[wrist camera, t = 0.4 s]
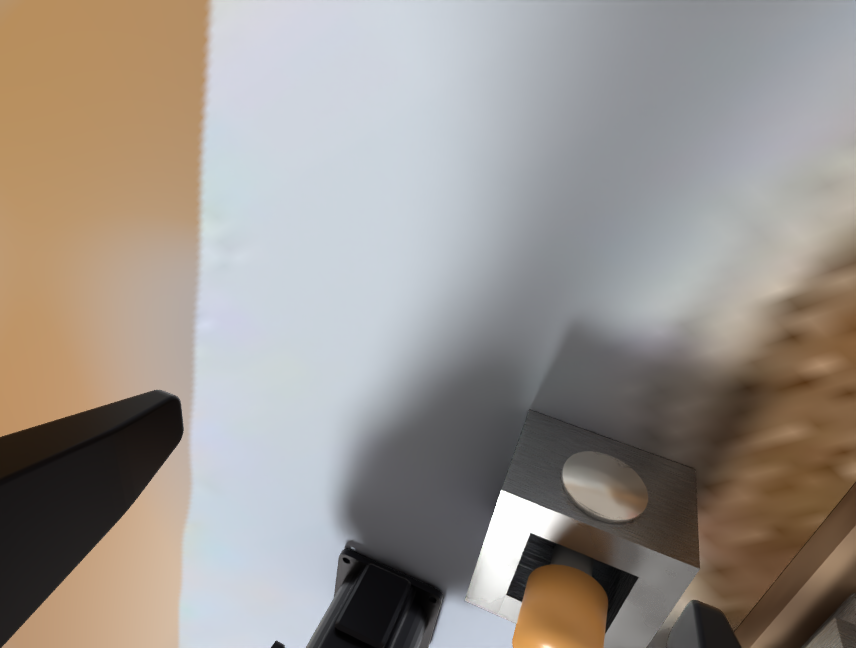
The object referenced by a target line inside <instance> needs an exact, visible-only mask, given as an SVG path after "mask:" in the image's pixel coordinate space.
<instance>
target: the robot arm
mask: <svg viewBox="0 0 856 648" xmlns="http://www.w3.org/2000/svg"><path fill="white" fill-rule="evenodd" d="M183 431H184V428H183V418H182V409H181V402H180V399H179V398H178V397H177V396H175V395H173V394H170V393H168V392H165V391H162V390H154V391H150V392H147V393H144V394H140V395H137V396H134V397H130V398H127V399H124V400H121V401H117V402H114V403H111V404H108V405H104V406H101V407H98V408H94V409H91V410H88V411H84V412H81V413H78V414H75V415H71V416H68V417H65V418H61V419H58V420H55V421H52V422H48V423H45V424H42V425H38V426H35V427H32V428H29V429H26V430H22V431H19V432H16V433H12V434H9V435H5V436H2V437H0V648H2V646H3V645H4V644H5V643H6V642H7V641H8V640H9V639H10V638H11V637H12V635H13V634H14V633H15V632H16V631H17V630H18V629H19V628H20V627H21V626H22V625H23V624H24V623H25V621H26V620H27V619H28V618H29V617H30V616H31V615H32V614H33V613H34V612H35V611H36V610H37V608H38V607H39V606H40V605H41V604H42V603H43V602H44V601H45V600H46V599H47V598H48V596H49V595H50V594H51V593H52V592H53V591H54V590H55V589H56V588H57V587H58V586H59V585H60V584H61V582H62V581H63V580H64V579H65V578H66V577H67V576H68V575H69V574H70V573H71V572H72V570H73V569H74V568H75V567H76V566H77V565H78V564H79V563H80V562H81V561H82V560H83V558H84V557H85V556H86V555H87V554H88V553H89V552H90V551H91V550H92V549H93V548H94V547H95V545H96V544H97V543H98V542H99V541H100V540H101V539H102V538H103V537H104V536H105V535H106V533H107V532H108V531H109V530H110V529H111V528H112V527H113V526H114V525H115V523H117V521H119V519H120V518H121V517H122V516H123V515H124V514H125V512H126V511H127V510H128V509H129V508H130V506H131V505H132V504H133V503H134V502H135V500H136V499H137V498H138V496H139V495H140V494H141V492H142V491H143V490H144V489H145V487H146V486H147V485H148V483H149V482H150V481H151V479H152V478H153V477H154V475H155V474H156V473H157V471H158V470H159V469H160V467H161V466H162V465H163V463H164V462H165V461H166V459H167V458H168V457H169V455H170V454H171V453H172V452H173V450H174V449H175V448H176V446H177V445H178V444H179V442H180V440H181V438H182V435H183ZM442 600H443V594H442V592H441V591H440V590H438V589H436V588H434V587H432V586H429V585H427V584H425V583H423V582H420V581H418V580H416V579H414V578H412V577H409V576H407V575H405V574H403V573H400V572H398V571H396V570H394V569H391V568H389V567H387V566H385V565H382V564H380V563H378V562H376V561H374V560H371V559H369V558H367V557H365V556H362V555H360V554H358V553H356V552H353V551H351V550H348V549H344V550H343V551H342V552H341V554H340V556H339V560H338V568H337V577H336V585H335V594H334V599H333V600H332V602H331V604H330V606H329V608H328V609H327V611H326V613H325V615H324V616H323V618H322V620H321V622H320V623H319V625H318V627H317V629H316V630H315V632H314V634H313V636H312V637H311V639H310V641H309V643H308V644H307V646H306V648H428V647H429V644H430V640H431V637H432V634H433V630H434V627H435V623H436V620H437V617H438V613H439V610H440V607H441V603H442ZM271 648H285V645H283V644H282V643H280V642H278V641H275V643H274V644H273V645H272V647H271ZM666 648H742V647H741V645H740V643H739V641H738V639H737V637H736V635H735V633H734V632H733V630H732V628H731V626H730V624H729V622H728V620H727V618H726V617H725V615H724V614H723V612H722V611H721V610H719V609H717V608H715V607H713V606H710V605H708V604H705V603H703V602H700V601H697V600H692V601H690V602H689V603H688V604H687V606H686V607H685V609H684V610H683V612H682V613H681V615H680V617H679V618H678V620H677V621H676V623H675V624H674V626H673V627H672V629H671V631H670V634H669V637H668V641H667V646H666Z"/></svg>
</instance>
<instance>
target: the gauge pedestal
mask: <svg viewBox="0 0 856 648" xmlns="http://www.w3.org/2000/svg"><path fill="white" fill-rule="evenodd" d="M557 544H559V545H562V546H564V547H567V548H569V549H571V550H574V551H576V552H579V553H581V554H584V555H586V556H589V557H591V558H594V565H593V572H592V577H593V578H594V579H595V580H596V581H597V582H598V583H599V584H600V585H601V586H602V587H603V589H604V590H605V592H606V594H607V597H608V610H607V620H606V629H605V638H604V647H603V648H646V647H647V646H648V644H649V643H650V641H651V640H652V639H653V637H654V636H655V634H656V633H657V631H658V630H659V628H660V627H661V625H662V624H663V622H664V621H665V619H666V618H667V617H668V615H669V614H670V612H671V611H672V609H673V608H674V606H675V605H676V603H677V602H678V600H679V599H680V597H681V596H682V594H683V593H684V592H685V590H686V589H687V587H688V586H689V584H690V583H691V581H692V580H693V578H694V577H695V575H696V574H697V572H698V571H699V569H700V561H699V539H698V517H697V495H696V473H695V469H693V468H690V467H687V466H684V465H682V464H679V463H676V462H673V461H671V460H668V459H665V458H662V457H659V456H657V455H654V454H651V453H648V452H646V451H643V450H640V449H637V448H634V447H632V446H629V445H626V444H623V443H621V442H618V441H615V440H612V439H610V438H607V437H604V436H601V435H598V434H596V433H593V432H590V431H587V430H585V429H582V428H579V427H576V426H573V425H571V424H568V423H565V422H562V421H560V420H557V419H554V418H551V417H548V416H546V415H543V414H540V413H537V412H535V411H532V410H529V413H528V415H527V418H526V421H525V424H524V427H523V430H522V432H521V435H520V438H519V441H518V444H517V447H516V449H515V452H514V455H513V458H512V461H511V464H510V466H509V469H508V472H507V475H506V478H505V481H504V483H503V486H502V489H501V492H500V495H499V498H498V501H497V504H496V507H495V510H494V513H493V516H492V519H491V522H490V525H489V528H488V531H487V534H486V537H485V540H484V543H483V546H482V549H481V552H480V555H479V558H478V561H477V564H476V567H475V570H474V573H473V576H472V579H471V582H470V585H469V588H468V591H467V594H466V598H465V601H466V602H468V603H471V604H473V605H475V606H477V607H479V608H482V609H484V610H486V611H488V612H491V613H493V614H495V615H497V616H500V617H502V618H504V619H506V620H509V621H511V622H513V623H515V624H517V620H518V616H519V612H520V608H521V604H522V600H523V596H524V592H525V588H526V584H527V580H528V577H529V575H530V574H531V572H532V571H534V570H535V569H537V568H538V567H541V566H545V565H550V564H551V559H552V555H553V550H554V547H555V546H556V545H557Z"/></svg>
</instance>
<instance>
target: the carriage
mask: <svg viewBox="0 0 856 648" xmlns="http://www.w3.org/2000/svg"><path fill="white" fill-rule="evenodd" d="M800 648H856V593H854V592H853V593H852V594H851V595H850V596H849V597H848V598H847V599H846V600H845V601H844V602H843V603H842V604H841V606H840V607H839V608H838V609H837V610H836V611H835V612H834V613H833V614H832V615H831V616H830V617H829V618H828V619H827V620H826V621H825V622H824V623H823V624H822V625H821V626H820V628H819V629H818V630H817V631H816V632H815V633H814V634H813V635H812V636H811V637H810V638H809V639H808V640H807V641H806V642H805V643H804V644H803V645H802V646H801V647H800Z"/></svg>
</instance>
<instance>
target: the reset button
mask: <svg viewBox="0 0 856 648" xmlns="http://www.w3.org/2000/svg"><path fill="white" fill-rule="evenodd" d="M593 565H594V558H591V557H589V556H586V555H584V554H581V553H579V552H576V551H574V550H571V549H569V548H567V547H564V546H562V545H559V544H557V545H556V546H555V547H554V550H553V555H552V559H551V564H550V565H545V566H541V567H538V568H537V569H535V570H534V571H532V572H531V574H530V575H529V577H528V580H527V584H526V588H525V592H524V596H523V600H522V604H521V608H520V612H519V616H518V620H517V624H516V628H515V632H514V636H513V641H512V644H513V648H603V647H604V638H605V629H606V620H607V610H608V597H607V594H606V592H605V590H604V589H603V587H602V586H601V585H600V584H599V583H598V582H597V581H596V580H595V579H594V578H593V577H592V572H593Z"/></svg>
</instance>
